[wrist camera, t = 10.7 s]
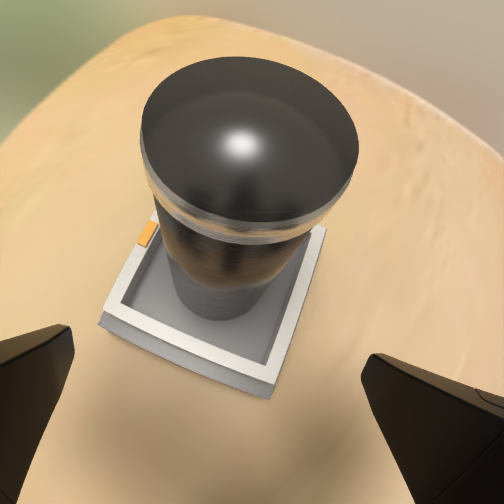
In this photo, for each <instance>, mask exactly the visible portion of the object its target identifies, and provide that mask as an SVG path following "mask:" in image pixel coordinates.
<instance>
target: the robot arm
mask: <svg viewBox="0 0 504 504" xmlns="http://www.w3.org/2000/svg"><path fill="white" fill-rule="evenodd" d="M74 354H75V349H74V343H73V337H72V331H71V328H70V327H69V326H66V325H61V324H56V325H53V326H50V327H46V328H43V329H40V330H36V331H33V332H30V333H26V334H23V335H20V336H16V337H13V338H10V339H6V340H3V341H0V504H16V503H17V500H18V497H19V494H20V491H21V489H22V486H23V483H24V480H25V478H26V475H27V472H28V470H29V467H30V465H31V462H32V459H33V457H34V455H35V452H36V450H37V447H38V445H39V442H40V440H41V438H42V435H43V433H44V431H45V428H46V426H47V424H48V422H49V420H50V417H51V415H52V413H53V411H54V409H55V406H56V404H57V402H58V400H59V398H60V396H61V393H62V390H63V388H64V385H65V382H66V379H67V376H68V373H69V370H70V367H71V364H72V361H73V359H74ZM361 382H362V385H363V387H364V390H365V393H366V396H367V398H368V401H369V404H370V407H371V410H372V412H373V415H374V417H375V419H376V421H377V423H378V425H379V427H380V429H381V431H382V433H383V436H384V438H385V440H386V442H387V444H388V446H389V448H390V450H391V452H392V454H393V456H394V459H395V461H396V463H397V465H398V467H399V469H400V471H401V473H402V476H403V478H404V480H405V482H406V484H407V486H408V489H409V491H410V493H411V495H412V497H413V500H414V502H415V504H504V397H501V396H497V395H494V394H491V393H488V392H485V391H482V390H480V389H477V388H475V389H474V388H473V387H470V386H467V385H464V384H462V383H459V382H456V381H453V380H451V379H448V378H445V377H442V376H440V375H437V374H434V373H432V372H429V371H426V370H424V369H421V368H419V367H416V366H413V365H411V364H408V363H406V362H403V361H401V360H398V359H395V358H393V357H390V356H388V355H385V354H382V353H375V354H371V355H370V356H369V358H368V360H367V362H366V365H365V367H364V369H363V371H362V373H361Z"/></svg>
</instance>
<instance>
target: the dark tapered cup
mask: <svg viewBox="0 0 504 504" xmlns="http://www.w3.org/2000/svg"><path fill="white" fill-rule="evenodd" d="M140 147H141V153H142V159H143V164H144V169H145V174H146V177H147V180H148V183H149V186H150V188H151V190H152V192H153V196H154V201H155V205H156V210H157V215H158V219H159V224H160V229H161V233H162V237H163V242H164V246H165V250H166V255H167V259H168V263H169V267H170V271H171V275H172V279H173V283H174V286H175V290H176V292H177V295H178V297H179V298H180V300H181V301H182V303H183V304H184V305H185V306H186V307H187V308H188V309H189V310H190V311H191V312H193V313H194V314H196V315H198V316H200V317H202V318H205V319H209V320H214V321H226V320H231V319H235V318H237V317H240V316H242V315H243V314H245V313H247V312H248V311H249V310H250V309H251V308H252V307H253V306H254V305H255V304H256V303H257V301H258V300H259V299H260V298H261V296H262V295H263V294H264V292H265V291H266V290H267V288H268V287H269V286H270V285H271V283H272V282H273V281H274V279H275V278H276V277H277V275H278V274H279V273H280V271H281V270H282V269H283V267H284V266H285V265H286V263H287V262H288V261H289V259H290V258H291V257H292V256H293V254H294V253H295V251H296V250H297V249H298V247H299V246H300V245H301V243H302V242H303V241H304V239H305V238H306V237H307V235H308V234H309V233H310V231H311V230H312V229H313V227H314V226H316V225H317V224H318V223H319V222H321V221H322V220H323V218H324V217H325V216H326V215H327V214H328V213H329V212H330V210H331V209H332V208H333V206H334V205H335V204H336V202H337V201H338V200H339V198H340V197H341V196H342V194H343V193H344V191H345V190H346V188H347V186H348V185H349V182H350V180H351V177H352V175H353V171H354V168H355V166H356V163H357V159H358V153H359V142H358V136H357V132H356V129H355V126H354V123H353V121H352V119H351V117H350V115H349V113H348V112H347V110H346V109H345V107H344V106H343V105H342V103H341V102H340V101H339V100H338V99H337V98H336V97H335V96H334V95H333V94H332V93H331V92H330V91H329V90H328V89H327V88H326V87H324V86H323V85H322V84H321V83H319V82H318V81H316V80H315V79H313V78H311V77H310V76H308V75H306V74H304V73H302V72H301V71H298V70H296V69H294V68H292V67H289V66H286V65H283V64H280V63H277V62H273V61H269V60H265V59H259V58H252V57H220V58H214V59H208V60H204V61H200V62H197V63H194V64H191V65H188V66H186V67H184V68H182V69H180V70H178V71H176V72H175V73H173V74H171V75H170V76H169V77H167V78H166V79H165V80H164V81H162V82H161V83H160V84H159V85H158V86H157V87H156V89H155V90H154V91H153V92H152V94H151V95H150V97H149V98H148V101H147V103H146V105H145V107H144V111H143V115H142V125H141V129H140Z"/></svg>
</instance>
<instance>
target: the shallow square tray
mask: <svg viewBox="0 0 504 504" xmlns="http://www.w3.org/2000/svg"><path fill="white" fill-rule="evenodd" d="M326 230H327V229H326V228H325V227H323V226H321V225H319V224H317V225H316V226H314V227H313V229H312V230H311V231H310V233H309V234H308V235H307V237H306V238H305V239H304V241H303V242H302V243H301V245H300V246H299V247H298V249H297V250H296V251H295V253H294V254H293V256H292V257H291V258H290V259H289V261H288V262H287V263H286V265H285V266H284V267H283V269H282V270H281V271H280V273H279V274H278V275H277V277H276V278H275V279H274V281H273V282H272V283H271V285H270V286H269V287H268V288H267V290H266V291H265V292H264V294H263V295H262V296H261V298H260V299H259V300H258V301H257V303H256V304H255V305H254V306H253V307H252V308H251V309H250V310H249V311H248V312H247V313H245V314H243V315H242V316H240V317H237V318H235V319H231V320H226V321H214V320H209V319H205V318H202V317H200V316H198V315H196V314H194V313H193V312H191V311H190V310H189V309H188V308H187V307H186V306H185V305H184V304H183V303H182V301H181V300H180V298H179V297H178V295H177V292H176V290H175V286H174V283H173V279H172V275H171V271H170V267H169V263H168V259H167V255H166V250H165V246H164V242H163V237H162V233H161V229H160V224H159V219H158V215H157V210H155V211H154V213H153V215H152V216H151V218H150V220H149V221H148V223H147V225H146V226H145V228H144V230H143V232H142V233H141V235H140V237H139V239H138V241H137V243H136V245H135V246H134V248H133V250H132V252H131V254H130V256H129V257H128V259H127V261H126V263H125V265H124V267H123V269H122V271H121V273H120V275H119V276H118V278H117V280H116V282H115V284H114V286H113V288H112V290H111V292H110V294H109V296H108V298H107V300H106V302H105V304H104V307H103V309H102V310H104V312H103V314H102V316H101V318H100V321H99V323H98V325H99V326H101V327H102V328H104V329H106V330H108V331H110V332H112V333H114V334H115V335H117V336H119V337H121V338H123V339H125V340H127V341H129V342H131V343H133V344H135V345H137V346H139V347H141V348H143V349H145V350H147V351H149V352H151V353H154V354H156V355H158V356H160V357H162V358H164V359H166V360H169V361H171V362H173V363H175V364H178V365H180V366H182V367H184V368H187V369H189V370H191V371H194V372H196V373H198V374H201V375H203V376H206V377H208V378H211V379H213V380H216V381H218V382H221V383H223V384H226V385H228V386H231V387H234V388H236V389H239V390H242V391H244V392H247V393H250V394H253V395H256V396H258V397H261V398H264V399H267V400H270V397H271V395H272V392H273V390H274V387H275V384H276V382H277V379H278V376H279V374H280V371H281V368H282V365H283V363H284V360H285V357H286V354H287V352H288V349H289V346H290V343H291V340H292V337H293V334H294V332H295V329H296V326H297V323H298V320H299V317H300V314H301V311H302V308H303V305H304V302H305V299H306V296H307V293H308V289H309V286H310V283H311V280H312V277H313V274H314V270H315V267H316V264H317V261H318V257H319V254H320V251H321V247H322V244H323V241H324V237H325V234H326Z"/></svg>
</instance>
